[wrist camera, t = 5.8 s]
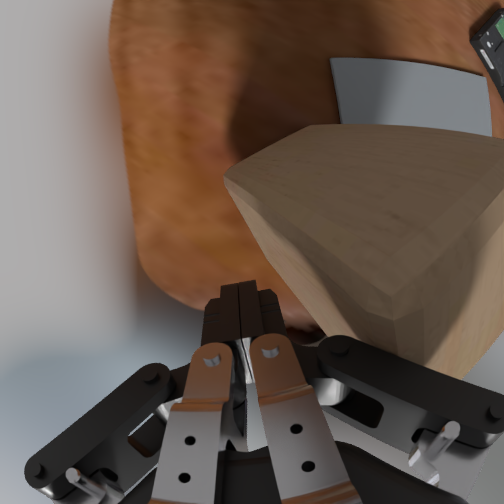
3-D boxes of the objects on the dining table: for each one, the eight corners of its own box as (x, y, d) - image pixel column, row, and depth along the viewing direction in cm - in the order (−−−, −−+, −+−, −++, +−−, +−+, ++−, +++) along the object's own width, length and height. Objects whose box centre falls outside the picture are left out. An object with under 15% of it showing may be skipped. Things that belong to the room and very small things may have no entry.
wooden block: (268, 263, 27) (401, 436, 9) (216, 172, 22) (385, 305, 5) (349, 211, 27) (521, 310, 10) (313, 121, 23) (540, 140, 5)
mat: (329, 59, 20) (331, 57, 20) (482, 77, 19) (486, 77, 19) (350, 280, 31) (352, 282, 30) (480, 247, 30) (482, 249, 29)
